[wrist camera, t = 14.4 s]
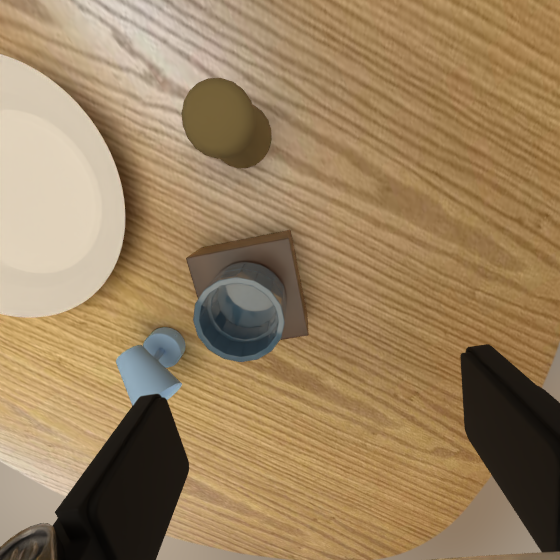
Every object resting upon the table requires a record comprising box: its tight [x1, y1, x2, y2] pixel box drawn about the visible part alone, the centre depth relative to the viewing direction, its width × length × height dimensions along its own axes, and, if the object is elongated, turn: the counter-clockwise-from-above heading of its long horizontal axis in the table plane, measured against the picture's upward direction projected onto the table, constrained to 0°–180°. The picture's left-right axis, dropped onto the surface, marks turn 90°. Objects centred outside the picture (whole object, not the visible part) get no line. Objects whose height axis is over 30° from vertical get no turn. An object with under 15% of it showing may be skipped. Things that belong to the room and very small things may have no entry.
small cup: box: [193, 262, 287, 362], centre depth 30 cm, size 7×7×6 cm
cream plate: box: [0, 54, 125, 317], centre depth 34 cm, size 25×25×4 cm
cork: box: [182, 78, 271, 168], centre depth 27 cm, size 6×6×11 cm
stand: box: [186, 230, 308, 340], centre depth 35 cm, size 10×10×5 cm
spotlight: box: [116, 327, 186, 406], centre depth 35 cm, size 5×10×7 cm
